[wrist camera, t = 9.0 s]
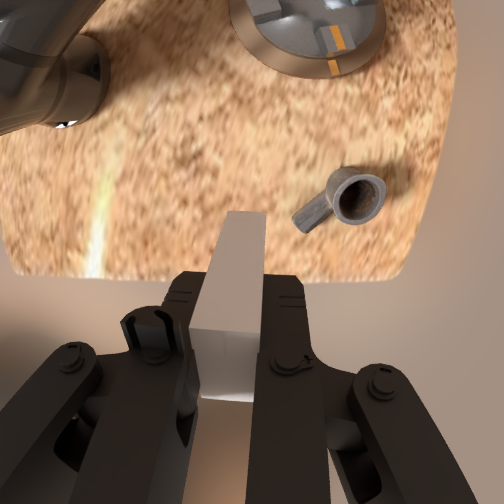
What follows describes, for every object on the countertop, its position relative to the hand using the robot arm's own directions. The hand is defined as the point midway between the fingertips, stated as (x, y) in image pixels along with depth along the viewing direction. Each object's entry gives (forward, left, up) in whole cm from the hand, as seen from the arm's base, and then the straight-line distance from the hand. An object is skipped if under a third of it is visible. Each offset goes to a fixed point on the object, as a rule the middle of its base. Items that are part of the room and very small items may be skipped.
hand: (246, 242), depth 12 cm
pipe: (+12, +1, -30) cm, 32 cm away
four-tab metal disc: (-8, +18, -27) cm, 34 cm away
